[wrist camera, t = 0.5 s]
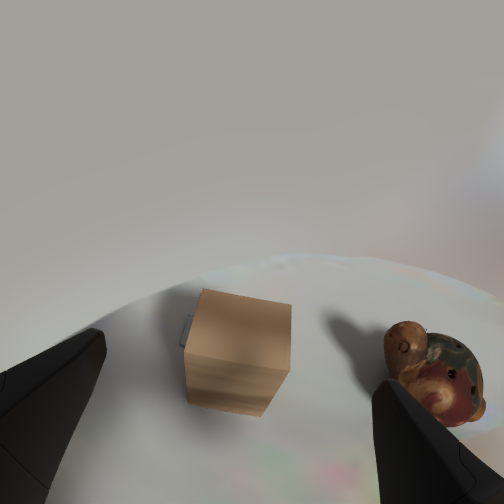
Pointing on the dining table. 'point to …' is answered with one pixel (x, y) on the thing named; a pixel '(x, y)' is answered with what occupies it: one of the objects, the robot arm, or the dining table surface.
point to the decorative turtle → (436, 372)
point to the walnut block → (237, 352)
